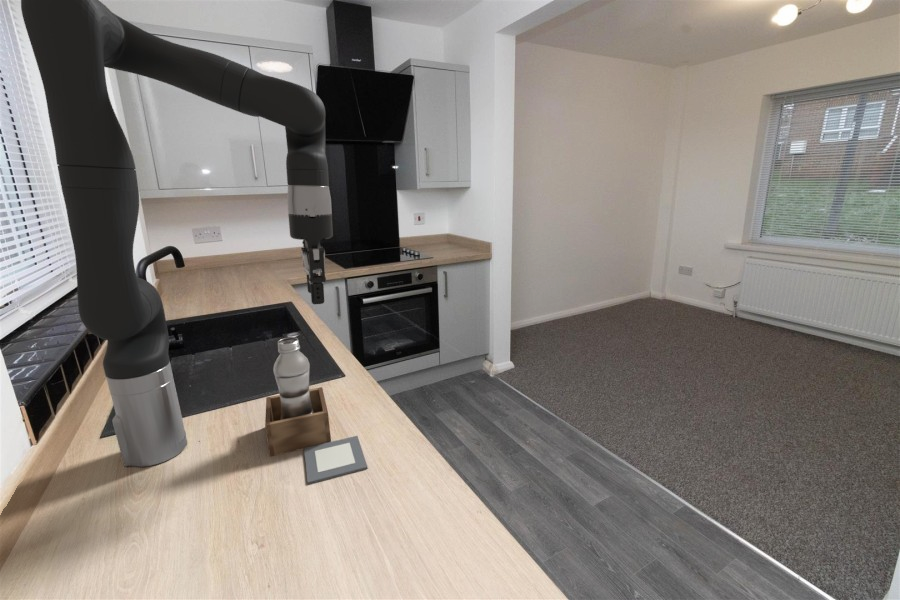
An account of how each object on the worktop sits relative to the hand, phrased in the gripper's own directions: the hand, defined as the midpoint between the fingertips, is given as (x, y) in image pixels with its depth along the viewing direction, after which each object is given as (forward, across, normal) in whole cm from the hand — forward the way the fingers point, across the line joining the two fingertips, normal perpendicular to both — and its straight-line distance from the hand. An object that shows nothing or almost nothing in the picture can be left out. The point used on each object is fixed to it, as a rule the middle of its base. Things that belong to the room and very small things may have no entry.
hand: (315, 297), depth 79 cm
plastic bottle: (+28, +2, -5) cm, 28 cm away
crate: (+28, +2, -5) cm, 28 cm away
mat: (+27, +13, 0) cm, 30 cm away
